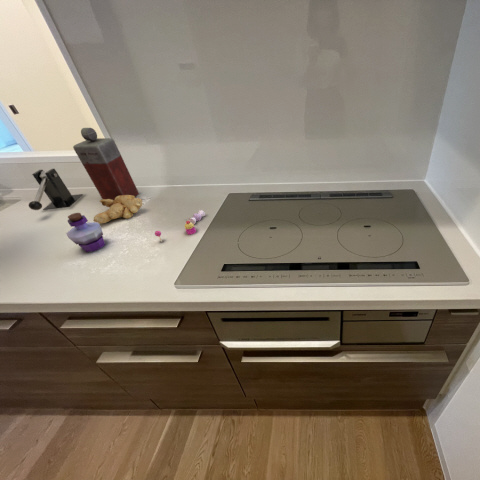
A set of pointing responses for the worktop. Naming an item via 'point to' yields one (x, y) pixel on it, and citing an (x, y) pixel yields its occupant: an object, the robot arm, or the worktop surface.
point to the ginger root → (118, 208)
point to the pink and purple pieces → (189, 223)
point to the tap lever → (39, 192)
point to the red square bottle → (105, 165)
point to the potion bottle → (85, 233)
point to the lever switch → (56, 190)
